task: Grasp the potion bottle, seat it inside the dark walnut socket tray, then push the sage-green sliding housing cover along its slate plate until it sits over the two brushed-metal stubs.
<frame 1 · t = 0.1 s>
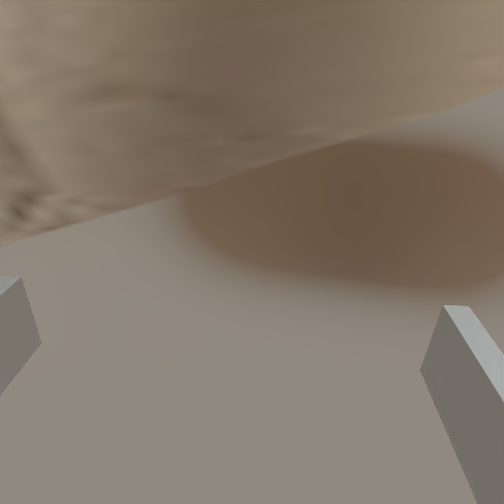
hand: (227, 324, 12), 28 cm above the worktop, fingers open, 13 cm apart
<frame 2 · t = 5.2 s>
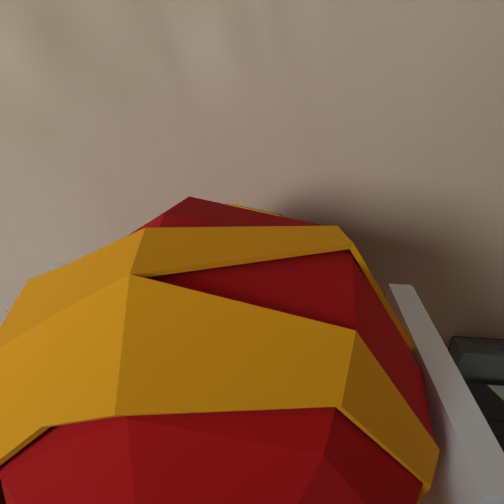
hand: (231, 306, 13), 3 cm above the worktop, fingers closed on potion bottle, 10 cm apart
stub plate: (500, 479, 21), on the worktop
potion bottle: (238, 261, 16), on the worktop, touching gripper
when the fingers open (5 cm above the worktop, at t = 10.9 s): potion bottle drops 1 cm, resting on socket tray.
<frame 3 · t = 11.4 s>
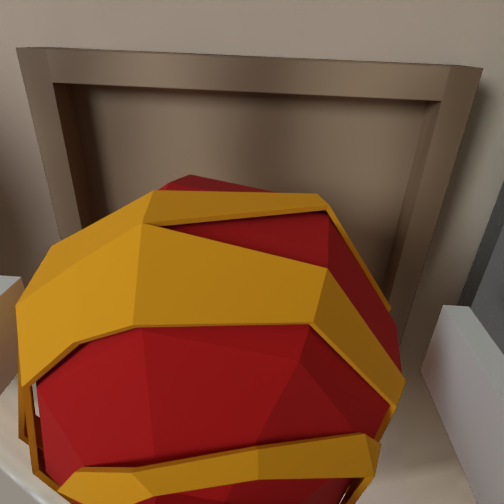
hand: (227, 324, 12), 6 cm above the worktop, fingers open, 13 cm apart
socket tray: (242, 240, 17), on the worktop
potion bottle: (236, 244, 17), resting on socket tray
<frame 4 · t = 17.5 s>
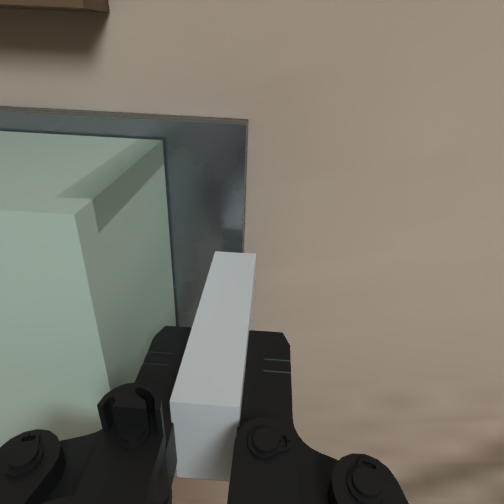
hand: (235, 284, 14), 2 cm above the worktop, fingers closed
stub plate: (11, 240, 16), on the worktop
housing: (42, 307, 12), point 4 cm above the worktop, slide at 1.3 cm, touching gripper
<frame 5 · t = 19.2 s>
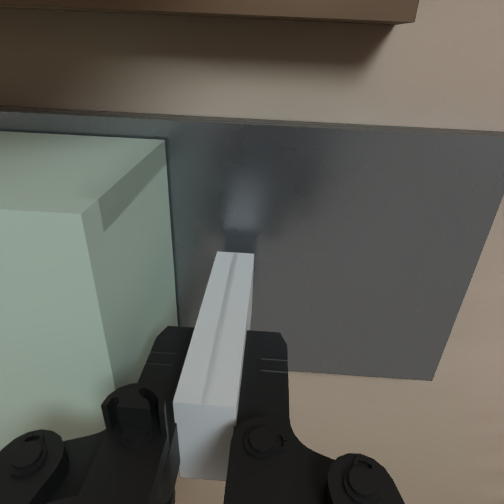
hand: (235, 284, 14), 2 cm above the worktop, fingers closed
stub plate: (219, 253, 16), on the worktop
housing: (45, 308, 12), point 4 cm above the worktop, slide at 10.2 cm, touching gripper
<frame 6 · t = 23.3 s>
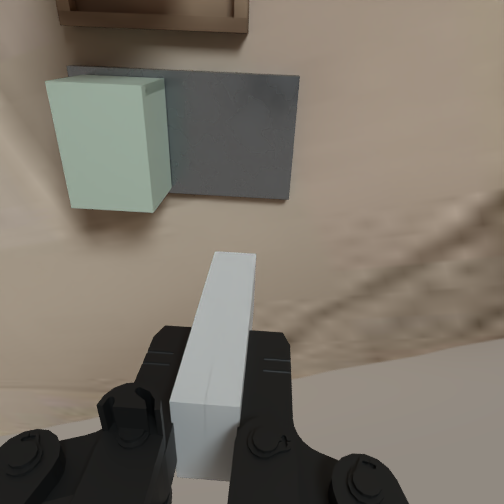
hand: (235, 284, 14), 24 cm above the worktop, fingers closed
stub plate: (187, 134, 36), on the worktop
housing: (118, 142, 32), point 4 cm above the worktop, slide at 10.0 cm
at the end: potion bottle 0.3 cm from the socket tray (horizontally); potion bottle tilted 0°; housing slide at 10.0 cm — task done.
